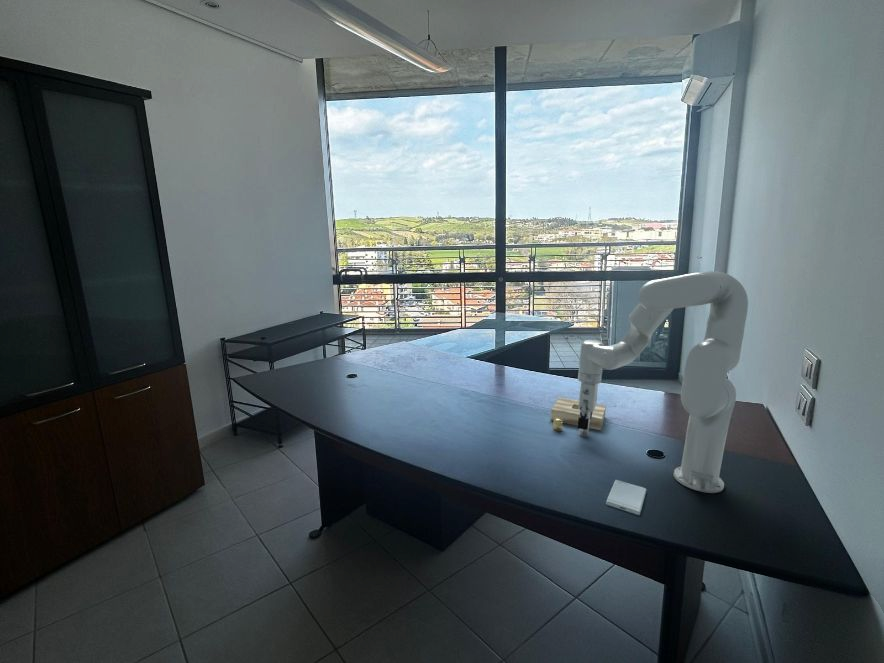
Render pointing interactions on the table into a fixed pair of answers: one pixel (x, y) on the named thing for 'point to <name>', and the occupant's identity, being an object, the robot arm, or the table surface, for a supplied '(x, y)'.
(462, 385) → the table surface
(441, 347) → the table surface
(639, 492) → the hard drive
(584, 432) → the tall steel pin
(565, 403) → the block
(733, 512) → the table surface
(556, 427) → the short brass pin
